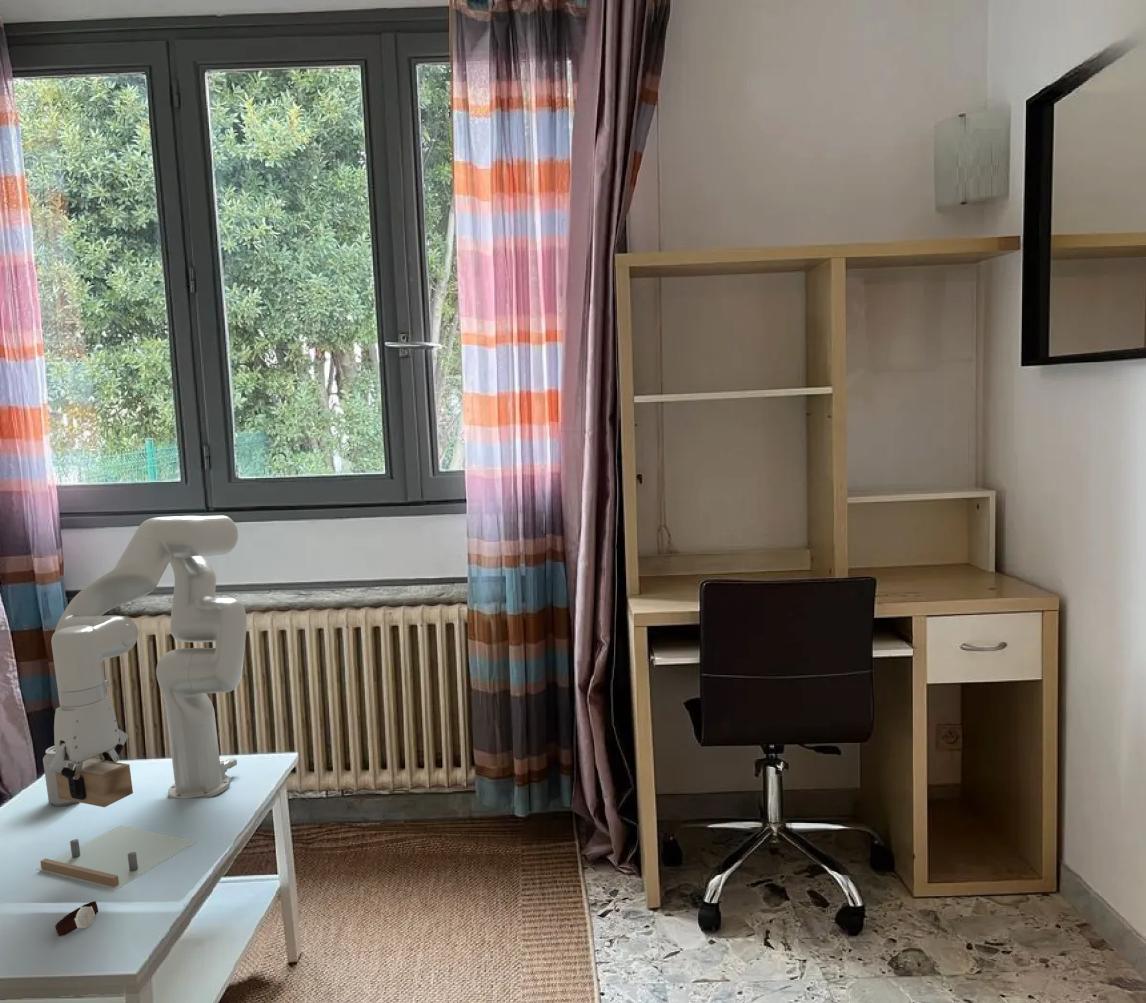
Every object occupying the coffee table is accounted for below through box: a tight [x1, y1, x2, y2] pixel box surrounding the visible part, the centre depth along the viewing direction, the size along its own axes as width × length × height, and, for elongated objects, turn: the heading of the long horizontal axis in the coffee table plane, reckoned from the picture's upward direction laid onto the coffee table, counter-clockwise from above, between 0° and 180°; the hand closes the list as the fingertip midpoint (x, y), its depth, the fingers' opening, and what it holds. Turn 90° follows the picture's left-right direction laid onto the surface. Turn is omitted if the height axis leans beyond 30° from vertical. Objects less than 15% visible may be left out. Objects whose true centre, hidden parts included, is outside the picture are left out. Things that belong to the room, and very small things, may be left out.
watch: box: [54, 900, 99, 937], centre depth 157 cm, size 8×5×4 cm, turn 165°
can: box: [42, 745, 77, 807], centre depth 207 cm, size 8×8×12 cm
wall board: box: [36, 825, 198, 890], centre depth 178 cm, size 18×21×4 cm
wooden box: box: [55, 757, 134, 808], centre depth 173 cm, size 6×12×6 cm, turn 65°
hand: (95, 789), depth 174 cm, fingers closed on wooden box, 6 cm apart
